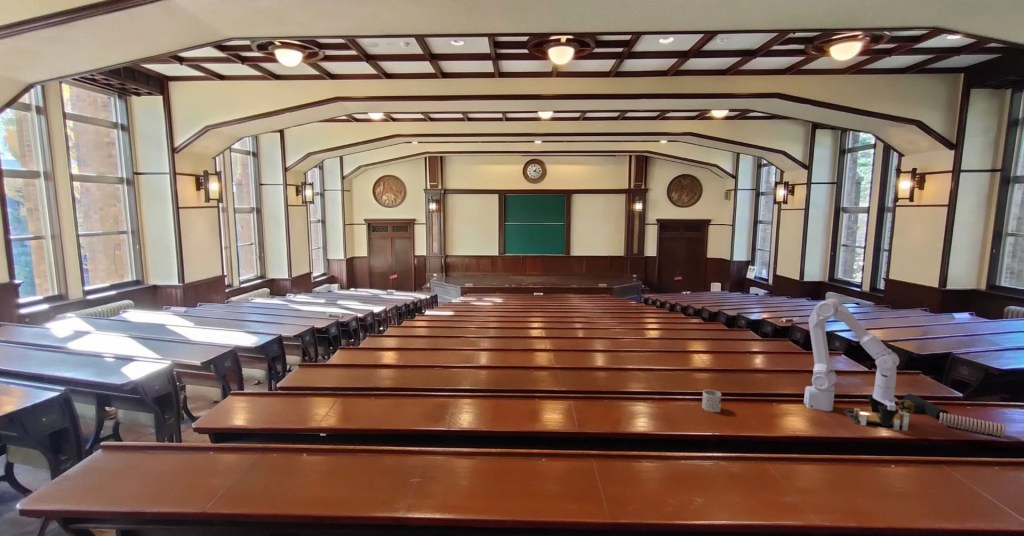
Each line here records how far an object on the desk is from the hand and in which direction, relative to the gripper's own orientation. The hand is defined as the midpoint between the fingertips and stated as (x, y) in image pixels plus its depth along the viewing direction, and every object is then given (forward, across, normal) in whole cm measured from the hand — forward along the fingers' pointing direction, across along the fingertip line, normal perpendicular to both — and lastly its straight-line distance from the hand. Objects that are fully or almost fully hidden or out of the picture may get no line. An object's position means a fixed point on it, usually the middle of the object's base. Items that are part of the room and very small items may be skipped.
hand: (880, 421), depth 171 cm
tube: (+1, 0, 0) cm, 1 cm away
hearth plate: (+2, +2, +1) cm, 3 cm away
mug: (+2, -2, +58) cm, 58 cm away
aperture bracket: (+1, -1, -6) cm, 6 cm away
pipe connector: (+2, +18, -18) cm, 26 cm away
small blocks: (+2, 0, +2) cm, 2 cm away
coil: (+2, +7, -30) cm, 31 cm away
